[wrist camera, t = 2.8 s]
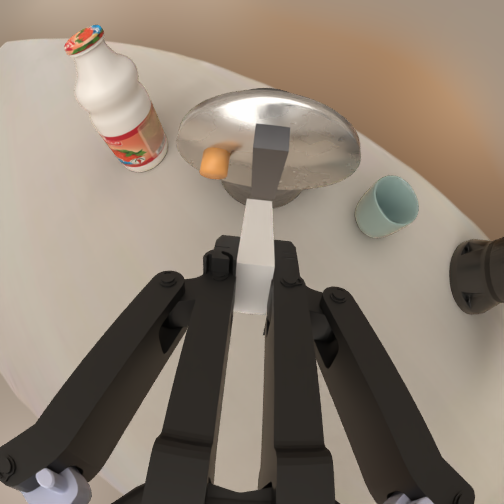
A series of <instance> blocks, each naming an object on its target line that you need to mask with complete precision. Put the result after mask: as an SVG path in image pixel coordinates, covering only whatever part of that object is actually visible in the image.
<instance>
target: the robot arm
mask: <svg viewBox="0 0 504 504" xmlns="http://www.w3.org/2000/svg"><path fill="white" fill-rule="evenodd" d="M296 254H297V253H296V247H295V246H294V245H293V244H292V242H290V241H281V240H274V233H273V210H272V201H265V200H255V199H247V201H246V207H245V213H244V219H243V225H242V231H241V237H236V236H226V235H222V236H221V237H219V238H218V239H217V240H216V243H215V247H214V250H211V251H209V252H207V253H206V254H205V255H204V256H203V275H202V276H200V277H197V278H192V279H184V277H183V276H182V275H181V274H180V273H178V272H176V271H163V272H161V273H158V274H157V275H156V276H154V277H153V278H152V280H151V281H150V282H149V283H148V284H147V285H146V286H145V287H144V288H143V290H142V291H141V292H140V293H139V294H138V295H137V296H136V297H135V299H134V300H133V301H132V302H131V303H130V304H129V305H128V307H127V308H126V309H125V310H124V311H123V312H122V313H121V315H120V316H119V317H118V318H117V319H116V320H115V322H114V323H113V324H112V325H111V326H110V328H109V329H108V330H107V331H106V332H105V333H104V335H103V336H102V337H101V338H100V340H99V341H98V342H97V343H96V344H95V346H94V347H93V348H92V349H91V351H90V352H89V353H88V354H87V355H86V357H85V358H84V359H83V360H82V362H81V363H80V364H79V366H78V367H77V368H76V369H75V371H74V372H73V373H72V375H71V376H70V377H69V378H68V380H67V381H66V382H65V384H64V385H63V386H62V388H61V389H60V390H59V392H58V393H57V394H56V396H55V397H54V398H53V400H52V401H51V402H50V404H49V405H48V407H47V408H46V409H45V411H44V412H43V414H42V415H41V416H40V418H39V419H38V421H37V422H36V424H34V425H33V426H31V427H30V428H29V429H27V430H26V431H24V432H23V433H21V434H20V435H18V436H17V437H15V438H14V439H12V440H11V441H9V442H8V443H6V444H4V445H3V446H1V447H0V481H1V482H2V483H4V484H5V485H7V486H9V487H12V488H14V489H16V490H19V491H20V492H21V493H22V494H23V496H24V497H25V499H26V501H27V502H28V504H88V503H89V501H90V499H91V497H92V493H91V488H90V485H89V484H88V482H89V481H90V480H92V479H93V478H94V477H95V475H97V473H98V472H99V471H100V470H101V469H102V467H103V466H104V464H105V463H106V461H107V460H108V458H109V456H110V455H111V453H112V451H113V450H114V448H115V446H116V445H117V443H118V441H119V440H120V438H121V436H122V435H123V433H124V431H125V430H126V428H127V426H128V425H129V423H130V421H131V420H132V418H133V416H134V415H135V413H136V411H137V410H138V408H139V406H140V405H141V403H142V401H143V400H144V398H145V397H146V395H147V393H148V392H149V390H150V388H151V387H152V385H153V383H154V382H155V380H156V379H157V377H158V375H159V374H160V372H161V370H162V369H163V367H164V366H165V364H166V362H167V361H168V359H169V357H170V356H171V354H172V353H173V351H174V349H175V348H176V346H177V345H178V343H179V341H180V340H181V338H182V337H183V335H184V333H185V332H186V330H187V333H186V336H185V340H184V344H183V348H182V351H181V355H180V359H179V363H178V367H177V371H176V375H175V379H174V383H173V387H172V391H171V395H170V399H169V403H168V407H167V412H166V416H165V420H164V425H163V429H162V432H161V434H160V435H159V436H158V437H157V438H156V440H155V442H154V445H153V449H152V453H151V457H150V462H149V467H148V472H147V477H146V482H145V483H144V484H142V485H140V486H138V487H136V488H134V489H133V490H131V491H130V492H128V493H127V494H125V495H124V496H122V497H121V498H119V499H118V500H116V501H115V502H113V503H111V504H340V503H339V502H337V501H336V500H335V488H334V471H333V460H332V455H331V453H330V451H329V450H328V449H327V448H326V447H325V445H324V437H323V425H322V413H321V403H320V393H319V383H318V374H317V366H316V360H317V362H318V365H319V367H320V370H321V372H322V375H323V377H324V380H325V382H326V384H327V387H328V389H329V392H330V394H331V397H332V399H333V402H334V404H335V407H336V409H337V412H338V414H339V417H340V419H341V422H342V424H343V427H344V429H345V432H346V434H347V437H348V439H349V442H350V445H351V447H352V450H353V452H354V455H355V457H356V460H357V463H358V465H359V468H360V470H361V473H362V476H363V478H364V481H365V483H366V485H367V488H368V490H369V492H370V494H371V495H372V497H373V498H374V500H375V501H376V503H377V504H474V500H475V494H474V490H473V488H472V487H471V486H470V485H469V484H468V483H467V482H466V481H465V480H464V479H463V478H462V477H461V476H460V475H459V474H458V473H457V472H456V471H455V470H454V469H453V468H452V467H451V466H450V465H449V464H448V463H447V462H446V461H445V460H444V459H443V458H442V456H441V454H440V452H439V450H438V448H437V446H436V444H435V441H434V439H433V437H432V435H431V433H430V431H429V429H428V427H427V425H426V423H425V421H424V419H423V417H422V415H421V413H420V411H419V410H418V408H417V406H416V404H415V402H414V400H413V398H412V396H411V394H410V393H409V391H408V389H407V387H406V385H405V383H404V382H403V380H402V378H401V376H400V375H399V373H398V371H397V369H396V367H395V366H394V364H393V362H392V360H391V359H390V357H389V355H388V354H387V352H386V350H385V348H384V347H383V345H382V343H381V342H380V340H379V338H378V337H377V335H376V333H375V332H374V330H373V328H372V327H371V325H370V324H369V322H368V320H367V319H366V317H365V316H364V314H363V312H362V311H361V309H360V308H359V306H358V304H357V303H356V301H355V300H354V298H353V297H352V295H351V294H350V293H349V292H348V291H346V290H345V289H343V288H340V287H328V288H326V289H325V290H324V292H323V293H322V292H318V291H315V290H313V289H310V288H309V287H307V286H306V285H305V282H304V280H303V279H302V278H301V277H300V273H299V266H298V260H297V255H296ZM450 284H451V290H452V293H453V296H454V299H455V301H456V303H457V304H458V306H459V307H460V308H461V309H462V310H463V311H464V312H465V313H468V314H481V313H484V312H486V311H487V310H489V309H491V308H493V307H494V306H496V305H498V304H499V303H504V237H503V238H500V239H497V240H495V241H487V240H478V239H472V240H469V241H466V242H463V243H462V244H460V245H459V246H458V247H457V248H456V250H455V252H454V254H453V256H452V260H451V265H450ZM233 312H238V313H248V314H258V315H266V313H267V318H266V323H265V328H264V333H263V335H265V359H264V394H263V423H262V449H261V467H260V472H259V479H258V490H255V491H249V492H243V493H239V492H235V491H231V490H228V489H225V488H222V487H219V486H216V485H213V484H214V474H215V460H216V451H217V443H218V434H219V425H220V417H221V409H222V400H223V392H224V384H225V376H226V368H227V360H228V352H229V344H230V336H231V328H232V321H233ZM187 328H188V329H187Z"/></svg>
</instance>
